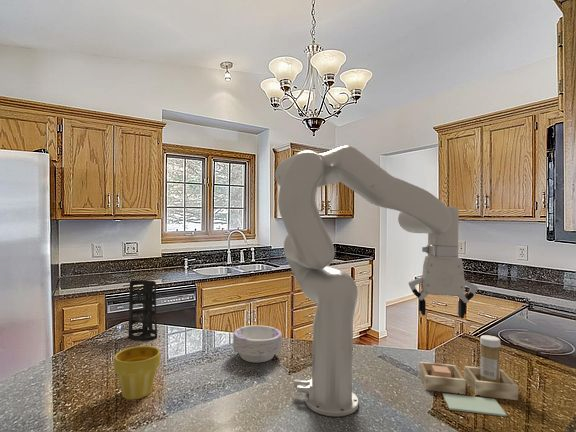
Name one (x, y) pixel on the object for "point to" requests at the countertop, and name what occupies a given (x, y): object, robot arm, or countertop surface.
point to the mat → (473, 404)
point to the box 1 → (442, 379)
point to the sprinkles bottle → (490, 358)
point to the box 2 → (491, 384)
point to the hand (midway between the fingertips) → (441, 315)
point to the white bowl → (257, 342)
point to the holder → (143, 310)
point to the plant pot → (136, 370)
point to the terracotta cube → (440, 371)
